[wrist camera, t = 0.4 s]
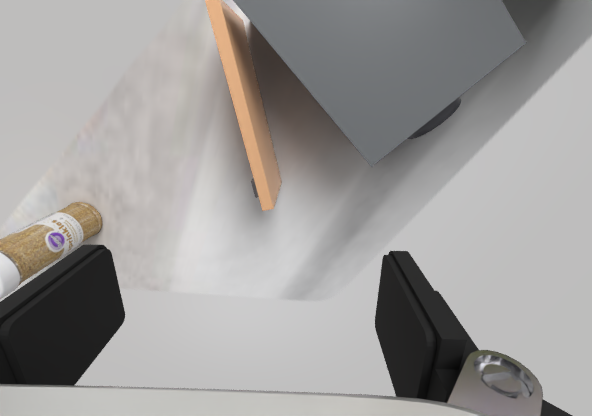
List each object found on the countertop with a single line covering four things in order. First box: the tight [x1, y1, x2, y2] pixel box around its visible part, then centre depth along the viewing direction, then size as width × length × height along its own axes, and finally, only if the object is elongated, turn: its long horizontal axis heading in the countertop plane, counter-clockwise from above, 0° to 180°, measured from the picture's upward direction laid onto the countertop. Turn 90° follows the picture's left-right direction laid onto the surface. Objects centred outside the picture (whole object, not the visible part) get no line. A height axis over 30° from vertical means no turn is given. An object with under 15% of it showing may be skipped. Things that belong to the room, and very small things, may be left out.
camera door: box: [205, 0, 282, 211], centre depth 28 cm, size 2×16×8 cm, turn 12°
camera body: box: [233, 0, 526, 167], centre depth 25 cm, size 13×17×10 cm
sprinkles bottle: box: [0, 202, 102, 299], centre depth 31 cm, size 5×5×14 cm
